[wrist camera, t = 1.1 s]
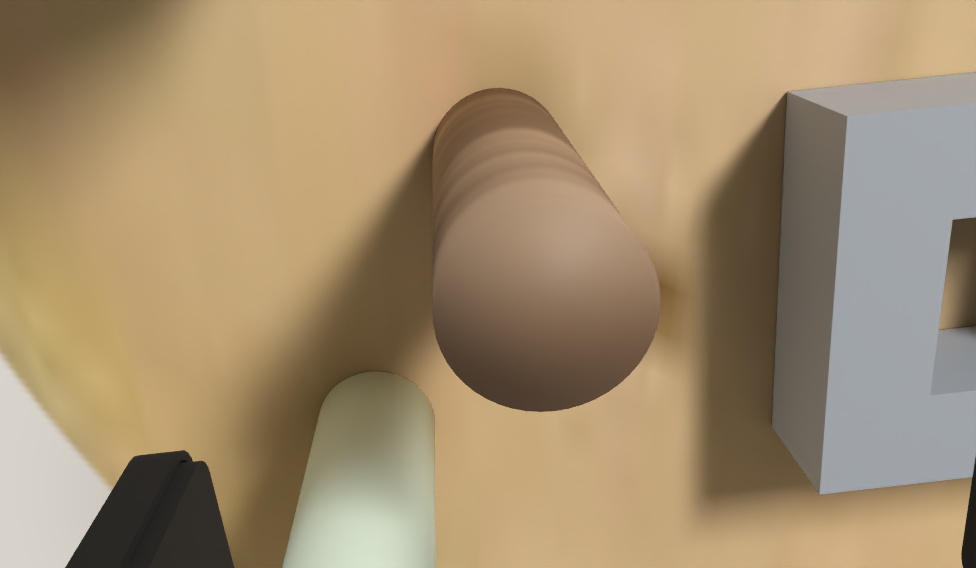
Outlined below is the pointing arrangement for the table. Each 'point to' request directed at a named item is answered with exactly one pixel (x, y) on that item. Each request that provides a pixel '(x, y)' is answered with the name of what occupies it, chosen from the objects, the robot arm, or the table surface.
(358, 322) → the table surface
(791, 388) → the socket block
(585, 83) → the table surface
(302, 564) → the sage peg
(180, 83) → the table surface
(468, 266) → the walnut peg
